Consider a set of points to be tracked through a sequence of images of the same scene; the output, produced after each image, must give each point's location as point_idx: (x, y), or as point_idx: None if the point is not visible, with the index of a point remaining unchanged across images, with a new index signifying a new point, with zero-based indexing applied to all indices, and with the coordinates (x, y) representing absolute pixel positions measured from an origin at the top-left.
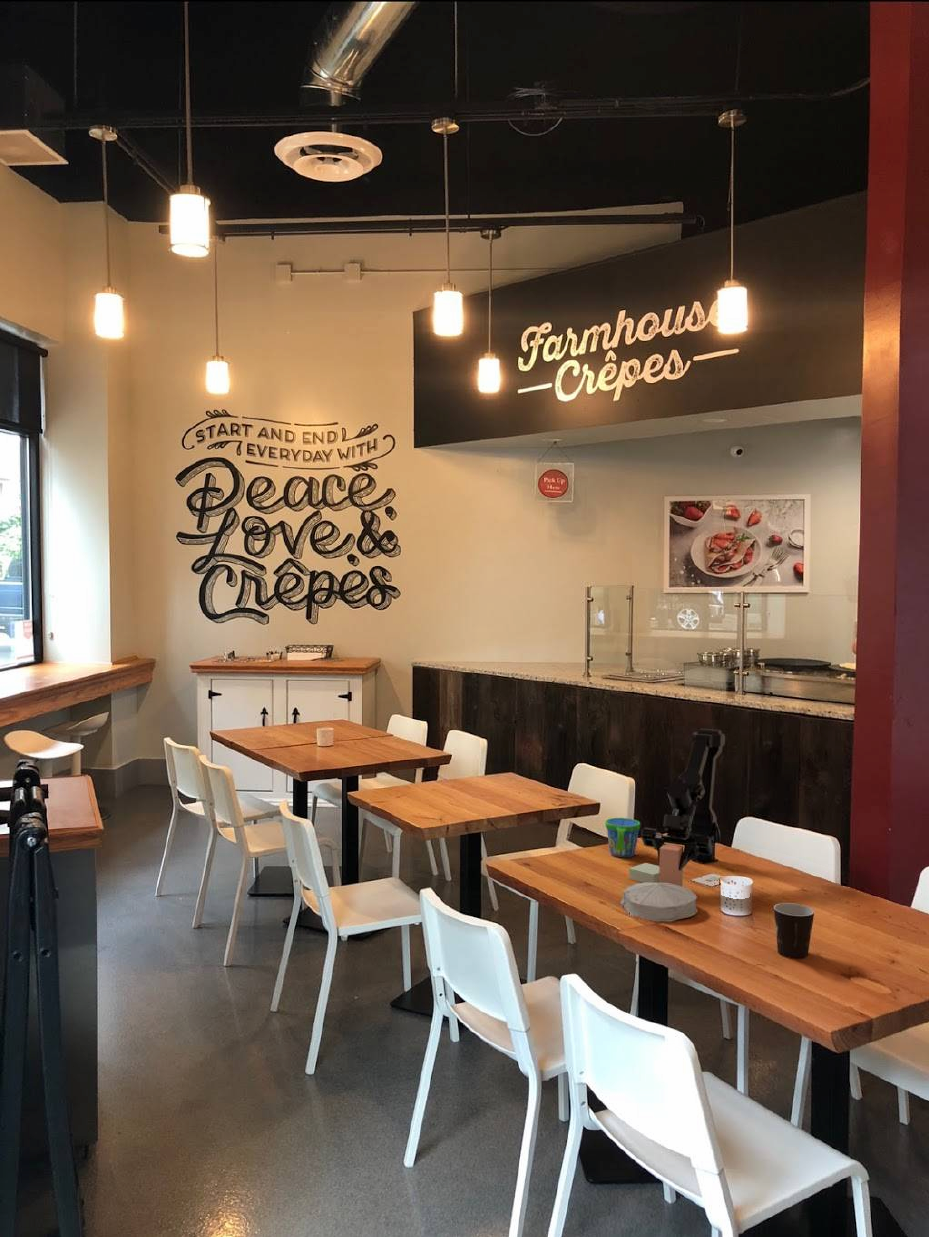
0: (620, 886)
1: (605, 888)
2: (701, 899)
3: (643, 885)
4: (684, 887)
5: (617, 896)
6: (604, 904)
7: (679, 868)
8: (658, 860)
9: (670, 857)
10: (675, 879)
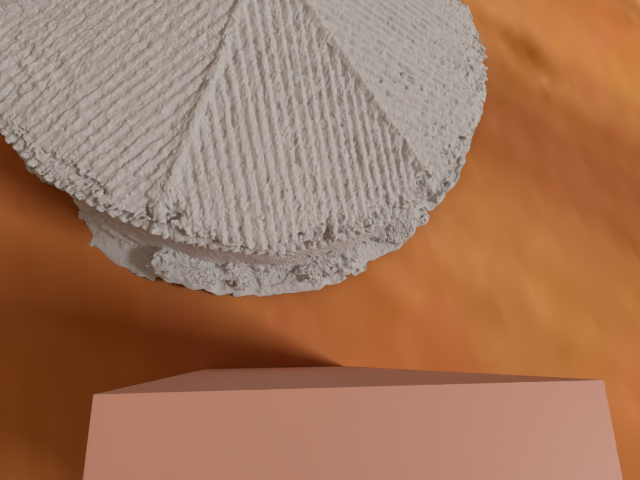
0: (588, 354)
1: (629, 268)
2: (3, 374)
3: (384, 15)
4: (88, 192)
5: (514, 166)
6: (506, 30)
7: None
8: None
9: (298, 378)
10: (215, 371)
